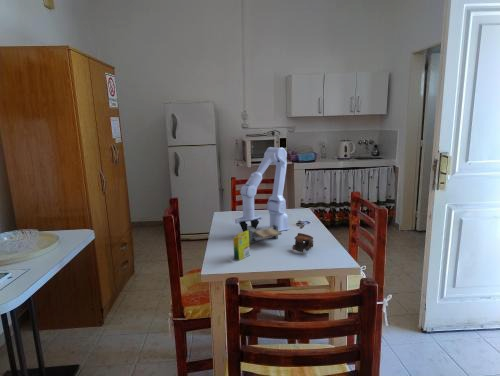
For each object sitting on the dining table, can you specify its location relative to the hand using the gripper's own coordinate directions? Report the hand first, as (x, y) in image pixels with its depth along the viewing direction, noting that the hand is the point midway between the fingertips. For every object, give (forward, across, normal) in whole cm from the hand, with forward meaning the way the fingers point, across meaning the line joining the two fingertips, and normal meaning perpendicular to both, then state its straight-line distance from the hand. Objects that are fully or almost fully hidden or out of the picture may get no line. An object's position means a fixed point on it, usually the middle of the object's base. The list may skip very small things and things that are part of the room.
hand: (249, 234), depth 168 cm
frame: (+1, -3, +8) cm, 9 cm away
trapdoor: (-4, -3, +8) cm, 10 cm away
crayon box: (+2, +15, +22) cm, 26 cm away
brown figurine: (+2, -11, +30) cm, 32 cm away
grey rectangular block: (+1, 0, 0) cm, 1 cm away
